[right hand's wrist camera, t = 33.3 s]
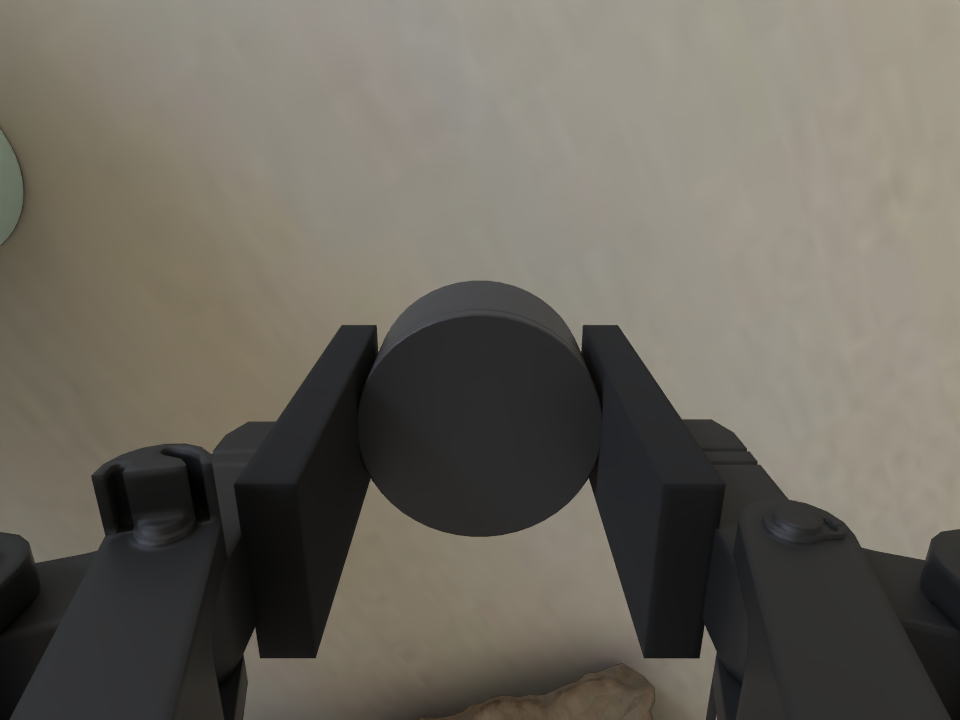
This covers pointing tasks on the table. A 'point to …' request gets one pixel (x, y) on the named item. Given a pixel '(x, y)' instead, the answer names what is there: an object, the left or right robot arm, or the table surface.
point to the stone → (574, 700)
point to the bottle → (9, 189)
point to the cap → (479, 411)
